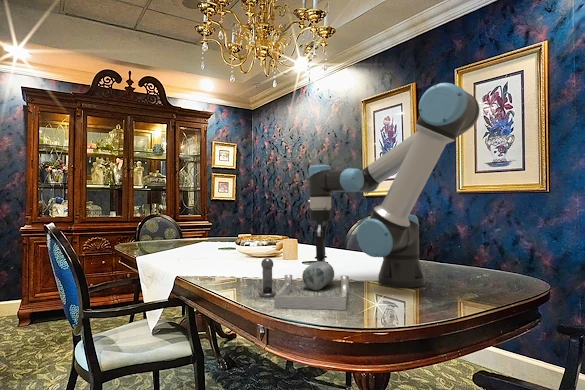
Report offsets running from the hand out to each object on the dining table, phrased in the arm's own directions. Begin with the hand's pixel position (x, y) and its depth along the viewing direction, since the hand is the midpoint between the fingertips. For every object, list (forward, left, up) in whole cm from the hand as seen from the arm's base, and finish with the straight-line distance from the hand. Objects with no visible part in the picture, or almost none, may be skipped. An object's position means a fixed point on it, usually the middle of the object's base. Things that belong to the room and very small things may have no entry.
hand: (321, 277), depth 137 cm
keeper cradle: (0, +27, -1) cm, 27 cm away
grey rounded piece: (0, +10, -2) cm, 10 cm away
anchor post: (+14, +23, -1) cm, 27 cm away
